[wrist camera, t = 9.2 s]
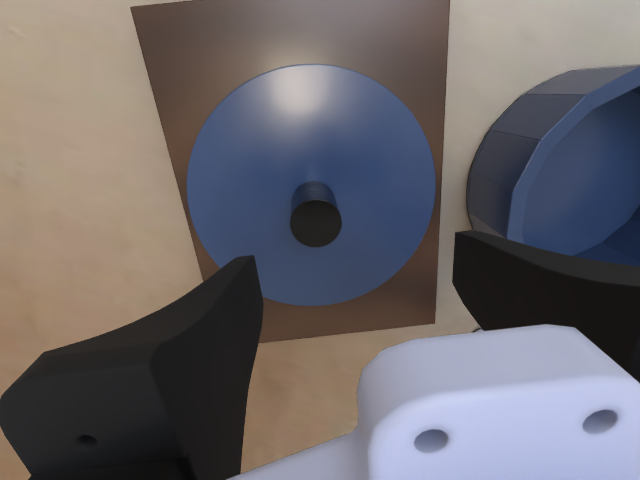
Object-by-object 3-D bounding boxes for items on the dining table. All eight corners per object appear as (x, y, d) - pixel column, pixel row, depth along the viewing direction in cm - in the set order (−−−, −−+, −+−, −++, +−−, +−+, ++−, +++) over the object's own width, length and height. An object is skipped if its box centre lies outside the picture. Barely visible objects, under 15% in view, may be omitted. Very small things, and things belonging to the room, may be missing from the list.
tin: (635, 256, 24) (711, 294, 20) (459, 276, 24) (496, 317, 20) (696, 57, 19) (815, 46, 15) (475, 80, 19) (527, 77, 15)
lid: (426, 284, 23) (454, 327, 19) (220, 307, 23) (202, 355, 18) (433, 51, 17) (475, 38, 13) (162, 79, 17) (119, 76, 13)
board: (428, 311, 25) (435, 323, 24) (225, 333, 25) (220, 347, 24) (439, -17, 17) (451, -27, 16) (142, 13, 17) (129, 6, 16)
